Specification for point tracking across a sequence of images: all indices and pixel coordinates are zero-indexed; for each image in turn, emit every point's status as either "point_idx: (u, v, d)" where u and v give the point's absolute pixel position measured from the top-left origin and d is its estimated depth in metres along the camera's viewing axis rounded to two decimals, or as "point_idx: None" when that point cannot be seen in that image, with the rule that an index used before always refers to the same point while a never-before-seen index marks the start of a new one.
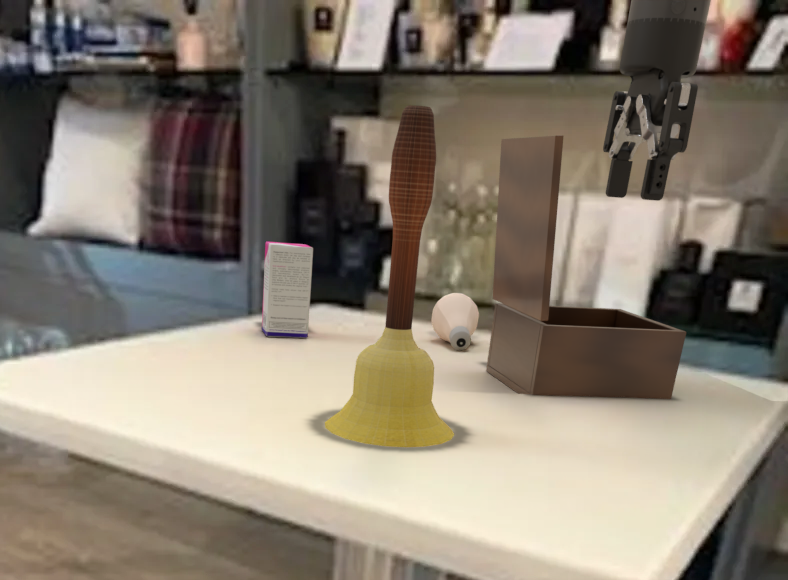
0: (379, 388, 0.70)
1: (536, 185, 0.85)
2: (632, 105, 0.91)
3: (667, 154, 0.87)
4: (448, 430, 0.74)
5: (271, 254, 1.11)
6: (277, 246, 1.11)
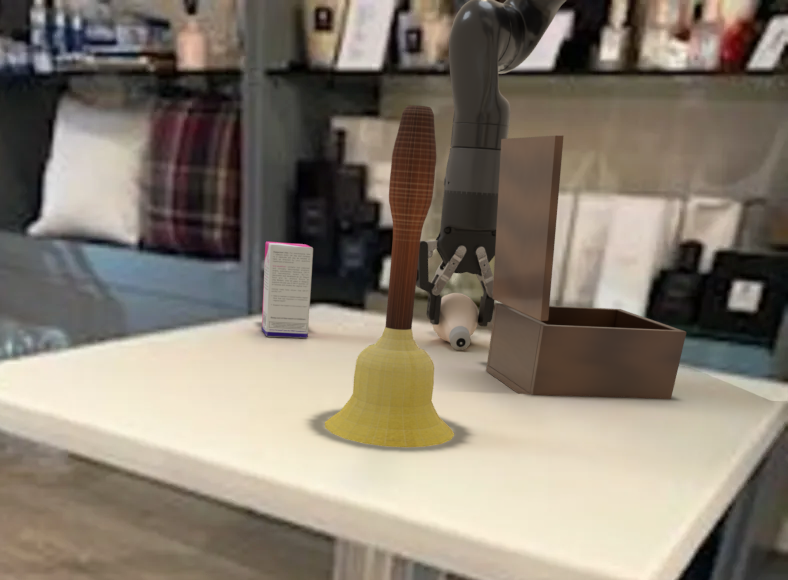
0: (380, 388, 0.70)
1: (536, 185, 0.85)
2: None
3: None
4: (448, 430, 0.74)
5: (271, 254, 1.11)
6: (277, 246, 1.11)
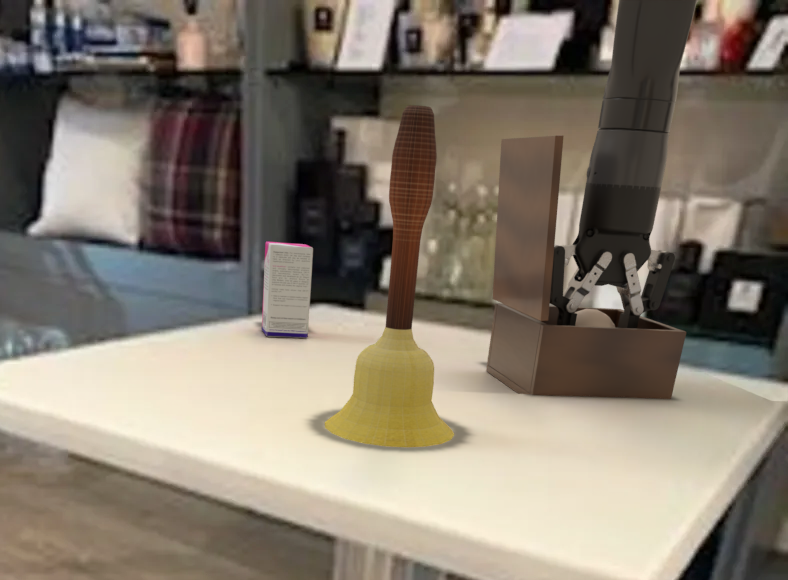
0: (380, 388, 0.70)
1: (536, 185, 0.85)
2: None
3: (556, 306, 0.95)
4: (448, 430, 0.74)
5: (271, 254, 1.11)
6: (277, 246, 1.11)
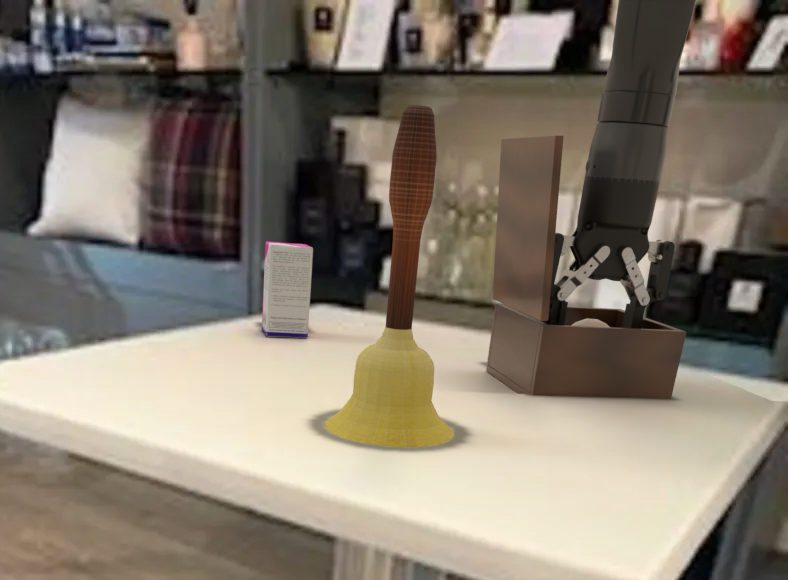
0: (380, 388, 0.70)
1: (536, 185, 0.85)
2: None
3: None
4: (448, 430, 0.74)
5: (271, 254, 1.11)
6: (277, 246, 1.11)
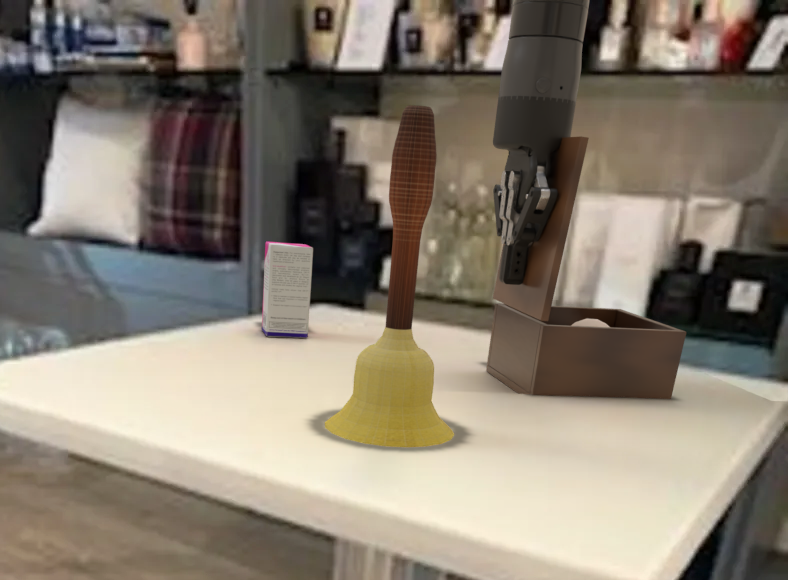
0: (380, 388, 0.70)
1: (554, 186, 0.85)
2: (507, 180, 0.89)
3: (522, 242, 0.89)
4: (448, 430, 0.74)
5: (271, 254, 1.11)
6: (277, 246, 1.11)
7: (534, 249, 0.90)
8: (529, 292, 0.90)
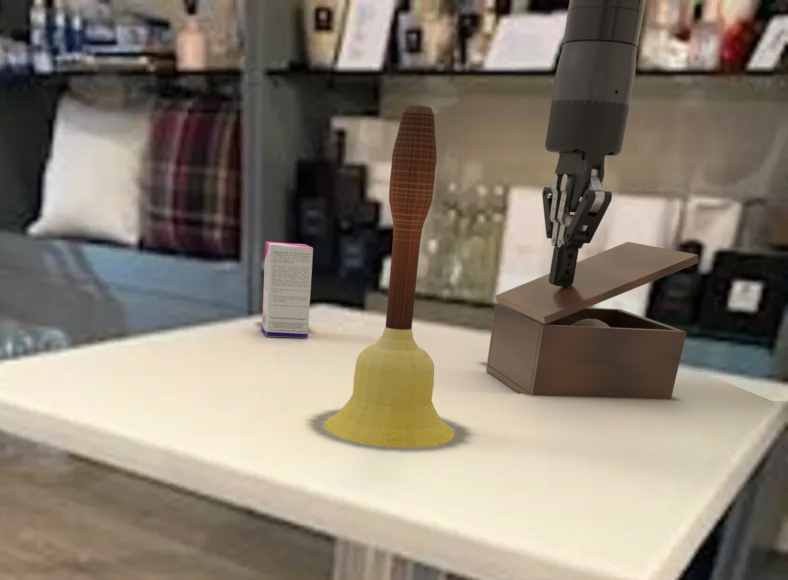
0: (380, 388, 0.70)
1: (639, 266, 0.90)
2: (559, 182, 0.90)
3: (574, 244, 0.90)
4: (448, 430, 0.74)
5: (271, 254, 1.11)
6: (277, 246, 1.11)
7: (578, 286, 0.92)
8: (546, 302, 0.91)
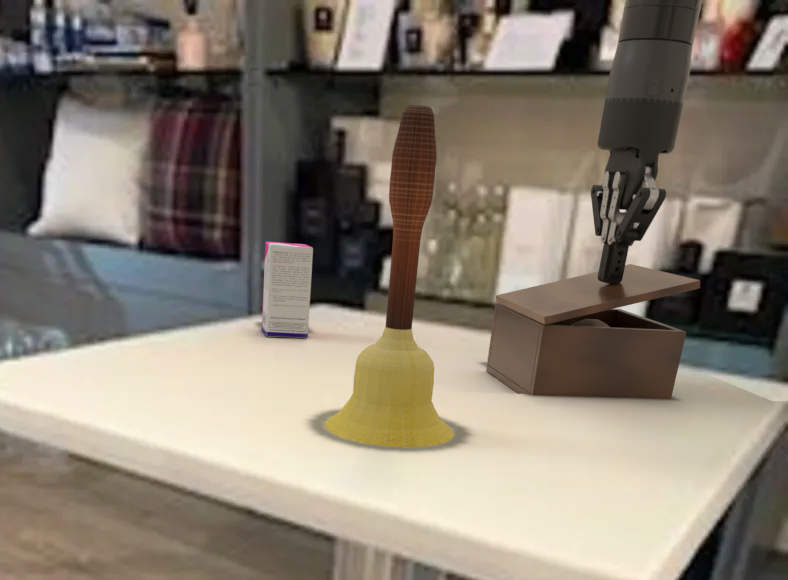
0: (380, 388, 0.70)
1: (642, 284, 0.91)
2: (610, 180, 0.90)
3: (625, 242, 0.91)
4: (448, 430, 0.74)
5: (271, 254, 1.11)
6: (277, 246, 1.11)
7: (580, 295, 0.92)
8: (547, 305, 0.91)
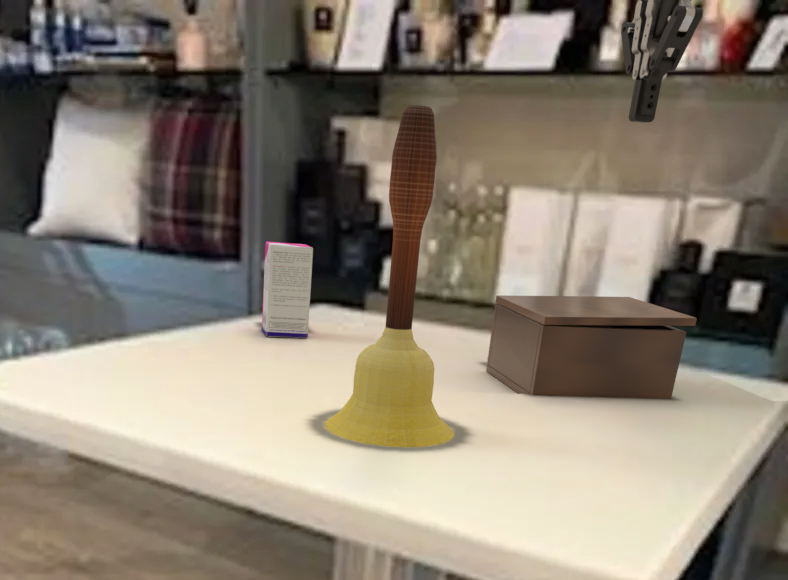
0: (380, 388, 0.70)
1: (640, 311, 0.92)
2: (643, 9, 0.87)
3: (658, 73, 0.88)
4: (448, 430, 0.74)
5: (271, 254, 1.11)
6: (277, 246, 1.11)
7: (580, 308, 0.93)
8: (548, 310, 0.91)
